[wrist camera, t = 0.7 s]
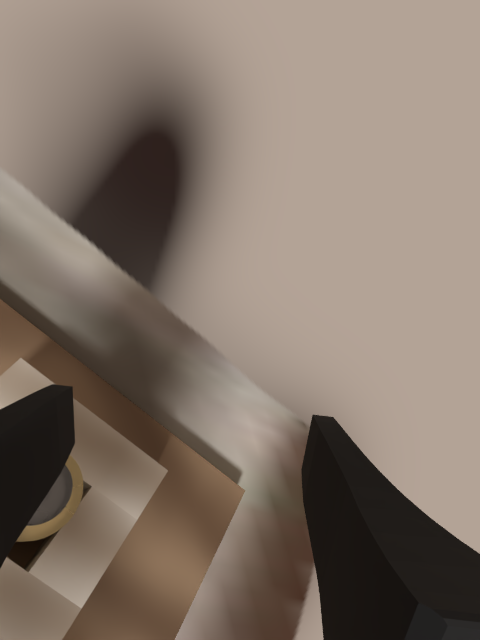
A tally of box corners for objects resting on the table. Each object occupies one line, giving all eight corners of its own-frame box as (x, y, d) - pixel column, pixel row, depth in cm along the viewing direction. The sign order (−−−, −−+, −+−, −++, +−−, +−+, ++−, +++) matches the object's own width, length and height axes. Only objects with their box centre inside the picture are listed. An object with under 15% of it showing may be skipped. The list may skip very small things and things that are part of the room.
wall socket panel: (80, 807, 19) (103, 865, 15) (-373, 533, 16) (-470, 530, 13) (234, 492, 29) (269, 485, 26) (-26, 290, 26) (-27, 251, 23)
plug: (22, 556, 20) (41, 562, 14) (-35, 517, 20) (-41, 504, 14) (70, 494, 23) (104, 475, 16) (19, 457, 22) (35, 424, 16)
